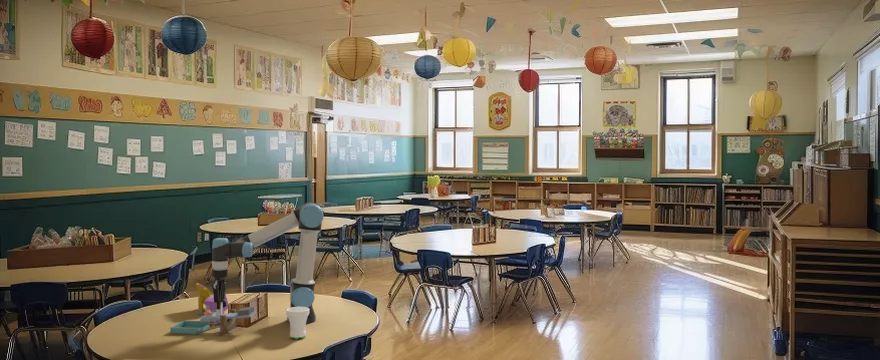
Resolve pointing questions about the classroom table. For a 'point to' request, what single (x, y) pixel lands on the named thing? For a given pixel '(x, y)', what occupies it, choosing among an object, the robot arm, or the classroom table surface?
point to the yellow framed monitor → (201, 298)
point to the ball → (207, 312)
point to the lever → (231, 314)
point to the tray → (190, 327)
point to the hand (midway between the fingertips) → (219, 315)
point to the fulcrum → (227, 325)
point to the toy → (212, 306)
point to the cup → (297, 321)
